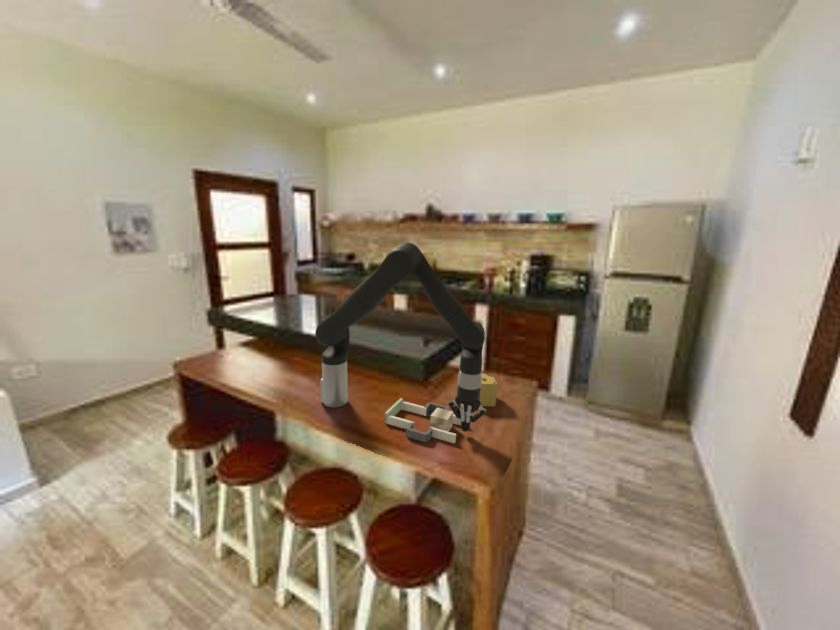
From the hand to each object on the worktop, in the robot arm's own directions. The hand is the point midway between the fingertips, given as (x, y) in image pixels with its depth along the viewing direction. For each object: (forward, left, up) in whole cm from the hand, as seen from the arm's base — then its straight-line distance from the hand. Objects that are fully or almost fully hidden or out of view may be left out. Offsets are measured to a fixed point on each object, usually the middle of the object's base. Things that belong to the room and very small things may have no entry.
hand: (465, 430), depth 123 cm
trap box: (-15, 0, -2) cm, 15 cm away
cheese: (-2, +26, -2) cm, 26 cm away
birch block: (-9, 0, -2) cm, 9 cm away
